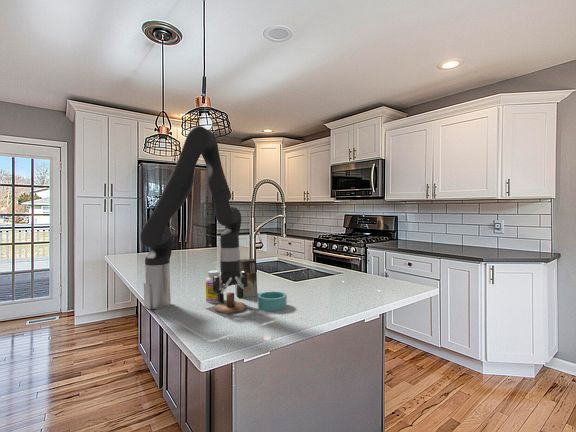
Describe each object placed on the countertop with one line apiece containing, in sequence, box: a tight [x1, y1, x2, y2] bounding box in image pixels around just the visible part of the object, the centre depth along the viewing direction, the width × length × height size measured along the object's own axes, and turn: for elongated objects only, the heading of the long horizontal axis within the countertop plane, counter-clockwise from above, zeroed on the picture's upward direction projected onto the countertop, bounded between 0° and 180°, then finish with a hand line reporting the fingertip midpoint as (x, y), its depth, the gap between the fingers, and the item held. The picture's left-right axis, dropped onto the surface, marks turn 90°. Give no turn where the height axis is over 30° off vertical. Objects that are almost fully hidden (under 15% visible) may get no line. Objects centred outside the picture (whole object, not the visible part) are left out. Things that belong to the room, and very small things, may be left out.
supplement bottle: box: [205, 269, 222, 304], centre depth 137 cm, size 7×7×13 cm
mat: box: [204, 300, 256, 318], centre depth 126 cm, size 14×14×1 cm
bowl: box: [257, 290, 288, 312], centre depth 128 cm, size 11×11×5 cm
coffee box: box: [234, 258, 258, 298], centre depth 146 cm, size 9×6×16 cm
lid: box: [214, 292, 247, 314], centre depth 126 cm, size 12×12×6 cm
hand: (231, 300), depth 126 cm, fingers open, 8 cm apart
